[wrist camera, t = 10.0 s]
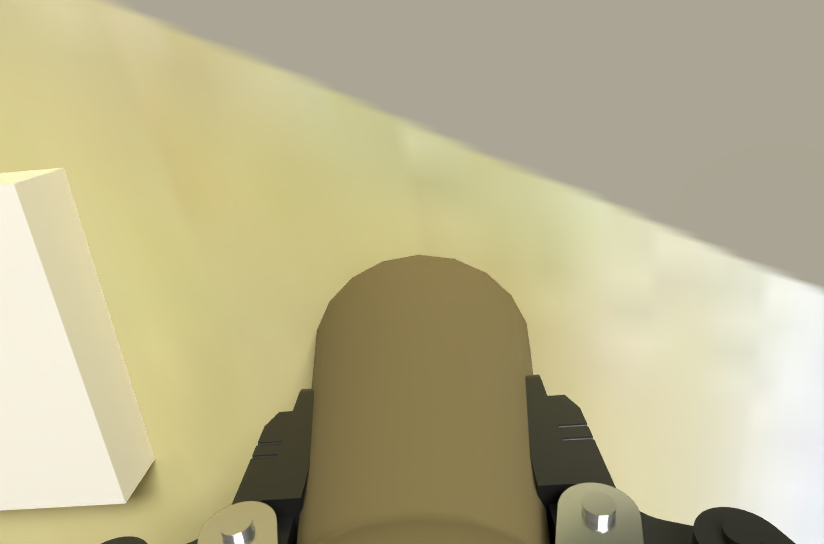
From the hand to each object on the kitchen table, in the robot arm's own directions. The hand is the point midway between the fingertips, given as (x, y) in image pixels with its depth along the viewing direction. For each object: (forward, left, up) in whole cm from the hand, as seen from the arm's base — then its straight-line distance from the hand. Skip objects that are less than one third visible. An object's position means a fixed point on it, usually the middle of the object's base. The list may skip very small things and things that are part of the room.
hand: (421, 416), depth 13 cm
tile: (-12, -3, -2) cm, 13 cm away
